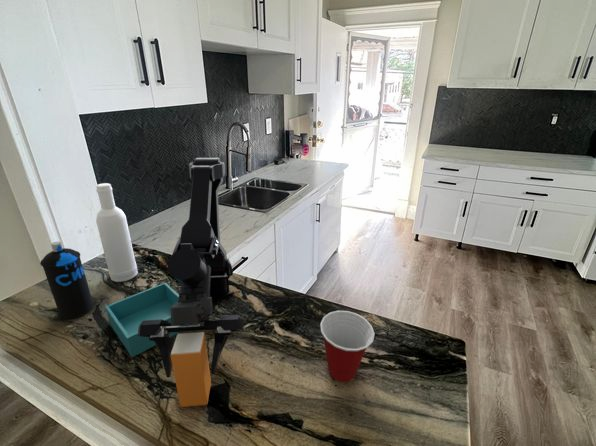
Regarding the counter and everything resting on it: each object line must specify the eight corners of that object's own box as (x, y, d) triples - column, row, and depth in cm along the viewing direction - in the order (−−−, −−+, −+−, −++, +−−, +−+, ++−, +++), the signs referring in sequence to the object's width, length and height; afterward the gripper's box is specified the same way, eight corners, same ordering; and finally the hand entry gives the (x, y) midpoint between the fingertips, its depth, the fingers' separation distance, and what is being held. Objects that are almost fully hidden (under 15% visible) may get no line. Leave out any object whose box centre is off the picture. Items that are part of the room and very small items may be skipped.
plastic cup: (357, 403, 60) (363, 356, 56) (308, 377, 66) (310, 332, 61) (375, 365, 69) (382, 321, 64) (331, 345, 74) (334, 303, 69)
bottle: (105, 282, 97) (80, 188, 85) (118, 268, 104) (97, 180, 92) (131, 282, 97) (110, 188, 85) (142, 269, 104) (124, 181, 92)
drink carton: (186, 384, 64) (177, 333, 59) (211, 382, 64) (204, 331, 59) (180, 407, 59) (170, 354, 54) (207, 404, 60) (199, 351, 55)
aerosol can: (51, 314, 83) (26, 247, 75) (81, 297, 90) (61, 233, 82) (72, 323, 80) (49, 253, 72) (101, 304, 87) (83, 239, 79)
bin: (168, 298, 90) (165, 282, 87) (194, 324, 80) (192, 307, 78) (109, 324, 80) (104, 306, 77) (131, 357, 70) (127, 338, 68)
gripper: (131, 285, 55) (118, 384, 49) (238, 279, 57) (238, 374, 51) (152, 295, 65) (144, 378, 60) (243, 290, 67) (243, 370, 62)
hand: (190, 375), depth 58 cm, fingers open, 8 cm apart
